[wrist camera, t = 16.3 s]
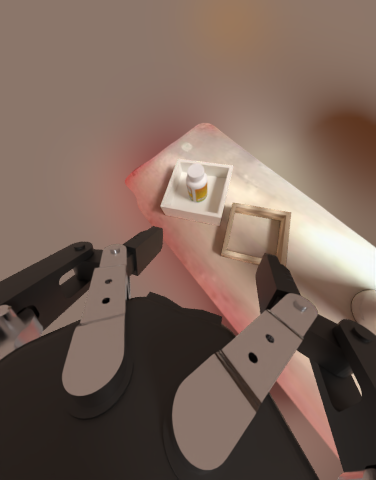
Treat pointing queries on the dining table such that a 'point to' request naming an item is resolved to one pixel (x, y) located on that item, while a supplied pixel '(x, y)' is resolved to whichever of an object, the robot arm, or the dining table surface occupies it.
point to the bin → (206, 211)
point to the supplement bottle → (196, 183)
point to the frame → (264, 213)
